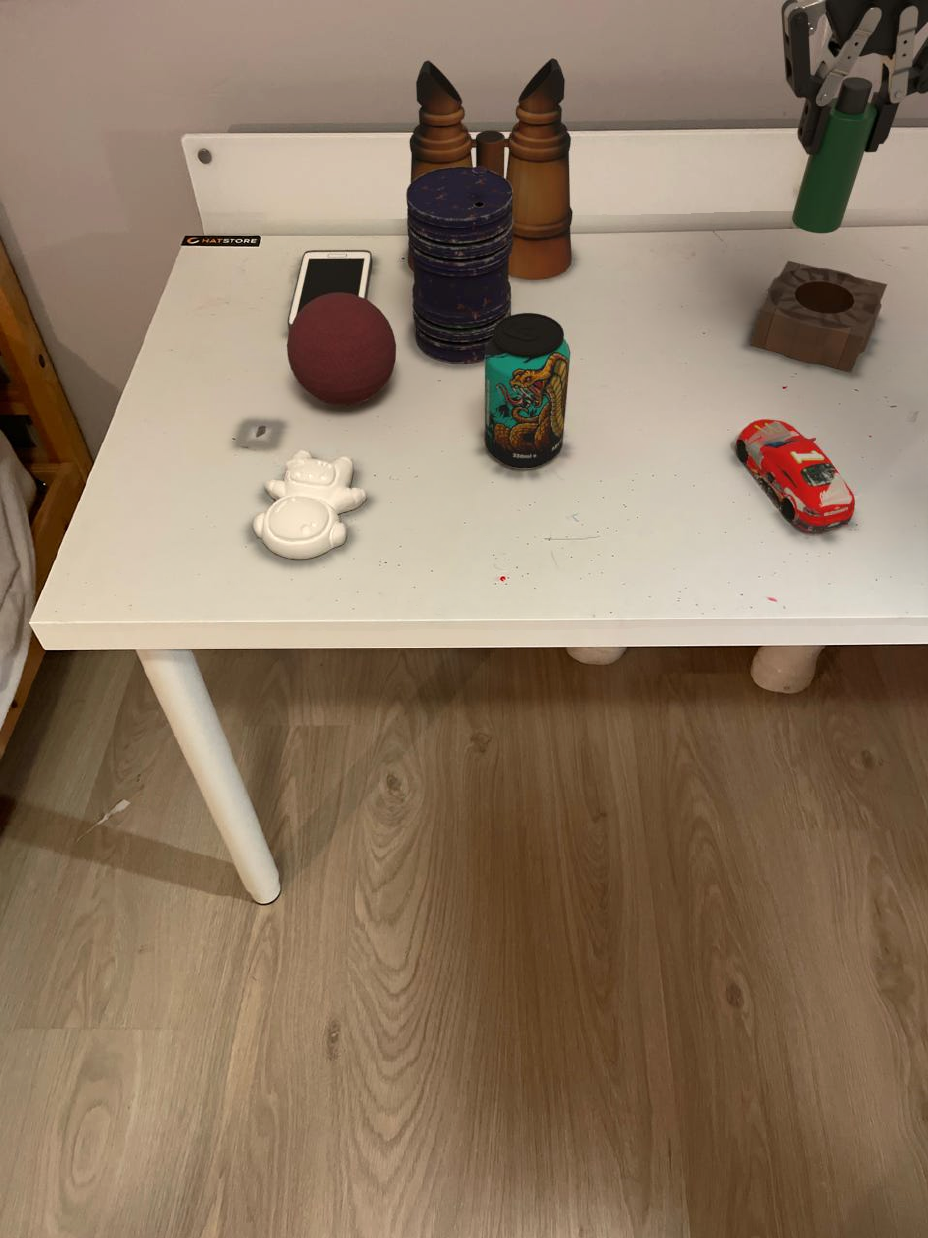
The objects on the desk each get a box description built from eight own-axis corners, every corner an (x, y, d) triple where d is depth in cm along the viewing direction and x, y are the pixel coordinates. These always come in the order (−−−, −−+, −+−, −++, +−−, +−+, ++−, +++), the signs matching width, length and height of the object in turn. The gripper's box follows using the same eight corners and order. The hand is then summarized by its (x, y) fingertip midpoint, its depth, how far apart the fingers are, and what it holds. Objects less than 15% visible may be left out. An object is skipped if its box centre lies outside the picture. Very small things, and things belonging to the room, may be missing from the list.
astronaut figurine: (381, 471, 83) (378, 445, 80) (332, 569, 76) (327, 543, 73) (290, 454, 84) (285, 428, 82) (234, 548, 77) (226, 522, 75)
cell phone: (373, 257, 105) (372, 249, 104) (362, 334, 96) (361, 325, 95) (305, 257, 105) (303, 249, 104) (287, 334, 96) (285, 326, 95)
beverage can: (538, 483, 81) (546, 369, 72) (470, 456, 84) (468, 342, 74) (575, 437, 85) (587, 323, 76) (509, 413, 87) (512, 299, 78)
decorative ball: (280, 382, 91) (261, 290, 83) (372, 351, 94) (362, 259, 86) (321, 440, 85) (305, 348, 78) (418, 405, 88) (411, 312, 81)
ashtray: (878, 318, 96) (891, 283, 93) (853, 375, 90) (866, 339, 87) (776, 292, 99) (785, 257, 96) (746, 346, 93) (755, 310, 90)
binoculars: (406, 280, 102) (391, 84, 86) (409, 241, 107) (396, 49, 91) (574, 278, 101) (590, 81, 86) (569, 239, 107) (583, 46, 91)
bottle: (845, 214, 78) (890, 77, 70) (834, 237, 76) (879, 98, 68) (798, 204, 80) (836, 67, 71) (786, 226, 77) (824, 88, 69)
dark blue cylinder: (395, 330, 96) (380, 153, 82) (470, 296, 100) (468, 121, 86) (453, 377, 91) (448, 197, 77) (530, 339, 95) (538, 161, 81)
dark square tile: (273, 449, 86) (270, 439, 85) (242, 447, 86) (239, 438, 85) (280, 426, 87) (277, 416, 86) (249, 425, 87) (246, 415, 86)
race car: (724, 442, 84) (733, 407, 81) (778, 430, 85) (789, 395, 82) (798, 543, 76) (811, 508, 73) (857, 528, 77) (872, 493, 74)
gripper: (827, -101, 57) (760, 176, 71) (1054, -109, 58) (945, 168, 71) (793, -136, 62) (737, 130, 75) (1004, -143, 62) (910, 123, 76)
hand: (838, 147), depth 73 cm, fingers closed on bottle, 4 cm apart
